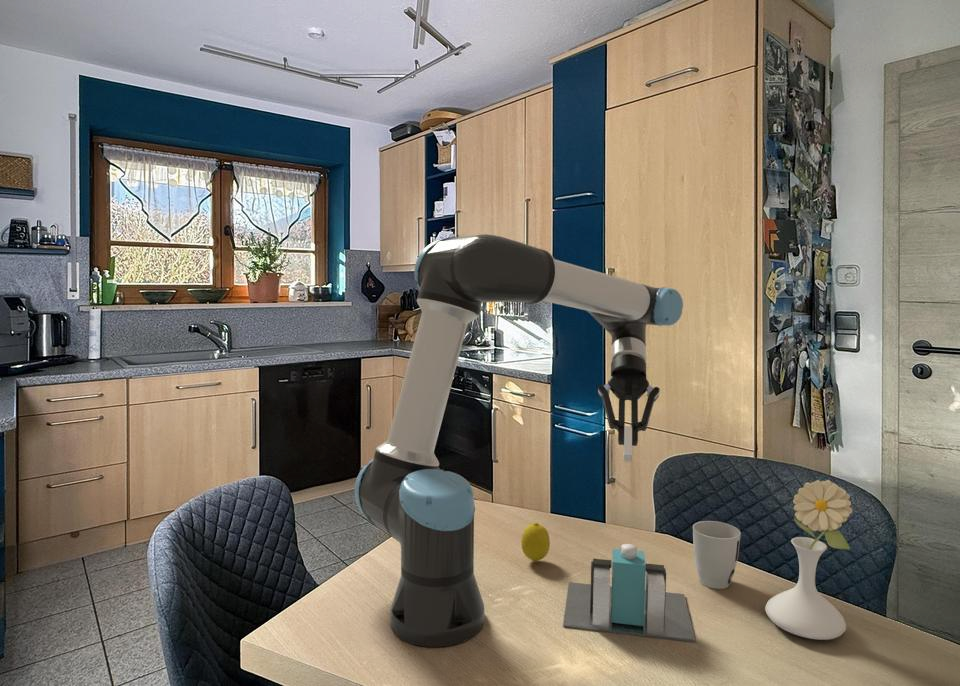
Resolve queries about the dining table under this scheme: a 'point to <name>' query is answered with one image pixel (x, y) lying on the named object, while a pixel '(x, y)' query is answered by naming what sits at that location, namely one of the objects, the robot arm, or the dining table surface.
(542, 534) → the lemon
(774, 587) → the dining table surface
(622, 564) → the teal post
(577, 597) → the steel clamp
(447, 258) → the robot arm
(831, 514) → the flower in vase
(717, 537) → the cup
